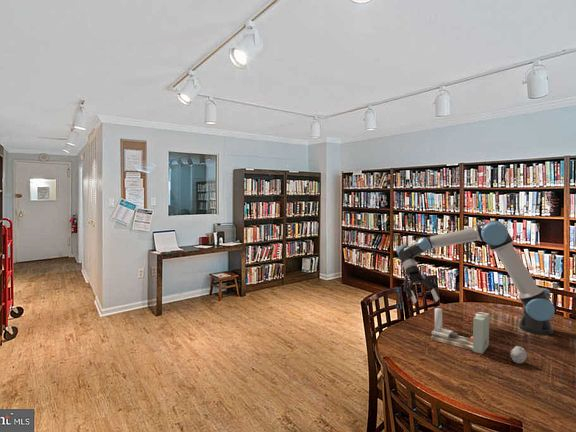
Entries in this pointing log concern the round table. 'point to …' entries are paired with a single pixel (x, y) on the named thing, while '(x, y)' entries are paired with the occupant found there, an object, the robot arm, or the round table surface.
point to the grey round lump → (518, 354)
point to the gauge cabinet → (480, 332)
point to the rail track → (454, 341)
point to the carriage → (438, 326)
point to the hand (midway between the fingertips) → (426, 301)
